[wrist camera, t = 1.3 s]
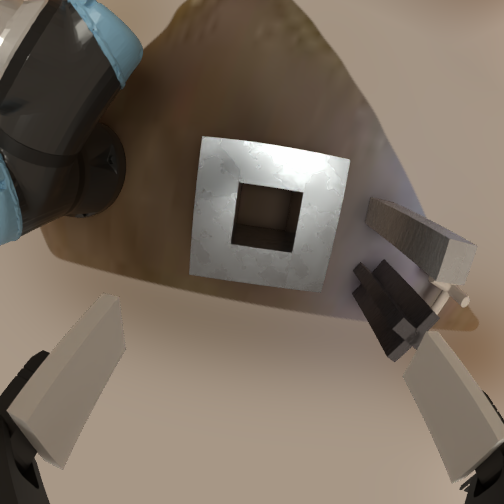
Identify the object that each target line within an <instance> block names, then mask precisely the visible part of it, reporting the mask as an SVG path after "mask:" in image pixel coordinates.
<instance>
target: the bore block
mask: <svg viewBox="0 0 504 504" xmlns="http://www.w3.org/2000/svg"><path fill="white" fill-rule="evenodd" d="M349 164H350V160H348V159H344V158H339V157H335V156H330V155H326V154H321V153H316V152H311V151H306V150H300V149H295V148H289V147H283V146H277V145H271V144H264V143H257V142H250V141H242V140H234V139H225V138H215V137H205V136H202V142H201V150H200V158H199V167H198V175H197V185H196V194H195V204H194V215H193V227H192V240H191V254H190V270H189V275H196V276H202V277H209V278H216V279H222V280H229V281H236V282H243V283H251V284H258V285H265V286H273V287H280V288H288V289H296V290H304V291H312V292H321V290H322V286H323V282H324V279H325V275H326V271H327V267H328V263H329V259H330V255H331V251H332V247H333V242H334V238H335V234H336V229H337V225H338V220H339V216H340V211H341V206H342V201H343V196H344V191H345V186H346V181H347V176H348V170H349ZM242 183H248V184H255V185H261V186H268V187H275V188H281V189H287V190H293V191H292V197H291V203H290V208H289V214H288V220H287V225H286V231H282V230H275V229H268V228H261V227H254V226H247V225H240V224H237V218H238V211H239V203H240V196H241V189H242Z"/></svg>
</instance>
